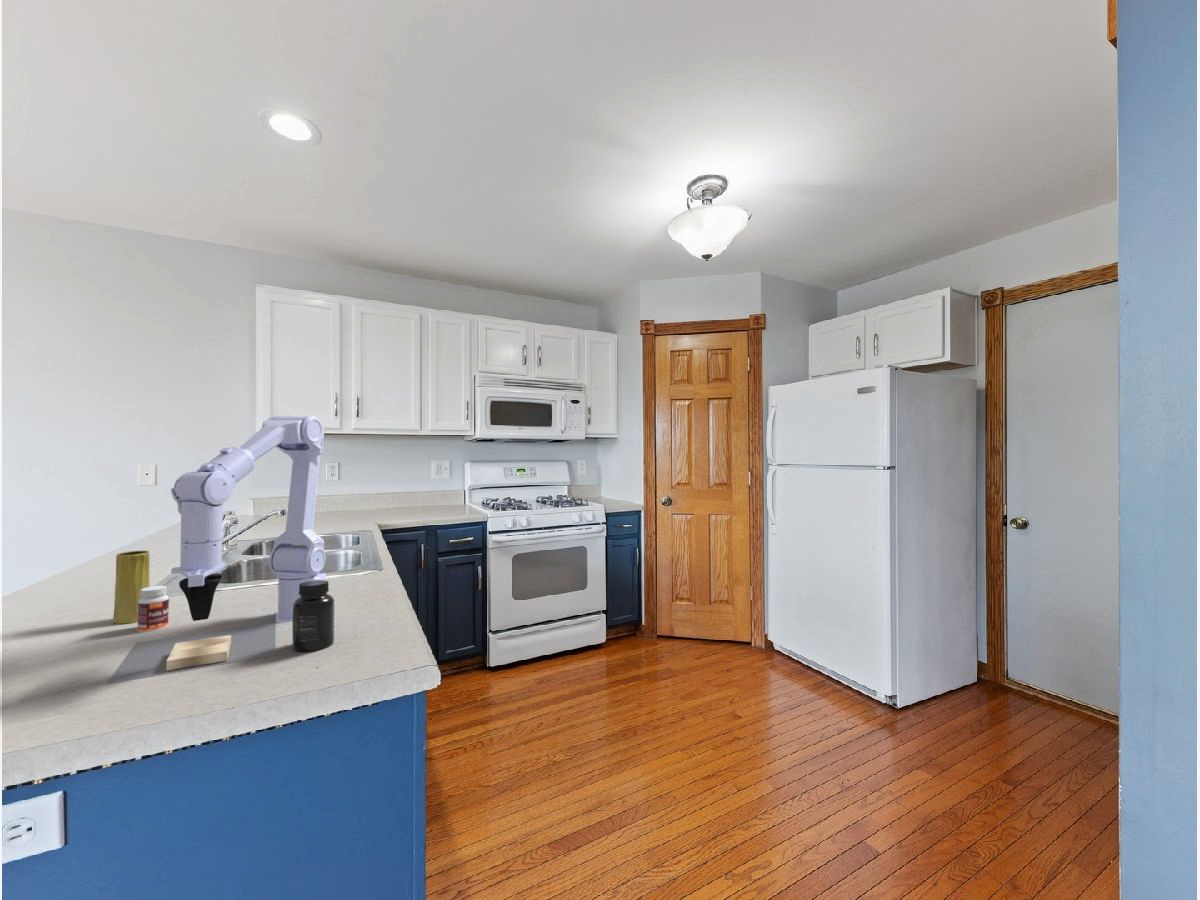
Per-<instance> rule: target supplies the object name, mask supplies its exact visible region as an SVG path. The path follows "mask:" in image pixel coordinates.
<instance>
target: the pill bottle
mask: <svg viewBox="0 0 1200 900" xmlns="http://www.w3.org/2000/svg"><path fill="white" fill-rule="evenodd" d="M167 589H168V588H167V586H165V585H153V586H149V587H147V588H143V589H141V593H140V596H141V597H142V598H141V599H140V600H139V601H138V622H137V632H140V633H141V632H145V633H146V632H147V633H148V632H154V631H159V630H162V629H165V628H167V627H168V626H169V612H170V611H169V609H170V605H169V604H170V598H169V596H168V595H167V592H168V590H167Z"/></svg>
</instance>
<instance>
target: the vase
mask: <svg viewBox="0 0 1200 900" xmlns="http://www.w3.org/2000/svg"><path fill="white" fill-rule="evenodd" d="M114 585H115V587H114V602H113V603H114V606H113V608H114V609H113V617H112V623H113V624H116V625H123V624H124V625H126V624H134V623H138V601H139V600H140V599H141V598H142V597H141V596H140V593H141V589H143V588H147V587H150V551H149V550H132V551H124V552H120V553H119V552H118V553H116V556H115V584H114Z"/></svg>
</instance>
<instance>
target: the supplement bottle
mask: <svg viewBox="0 0 1200 900" xmlns="http://www.w3.org/2000/svg"><path fill="white" fill-rule="evenodd" d="M326 580H327V579H326ZM326 580H315V581H308V582H304V583H301V584H300V585H299V595H300V598H298V599H297V600H296V601H295V602H294V604H293V620H292V627H291V628H292V631H291V632H292V637H291V639H292V641H291V643H292V645H291V646H292V651H294V652H297V653H311V652H313V653H314V652H317V651H323V650H325V649H327V648H330V647H332V646H333V645H334V643H335V599H334V596H332V595H331V594H329V593H328V592H329V591H330V588H329V581H328V580H327V581H326Z"/></svg>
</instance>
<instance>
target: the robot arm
mask: <svg viewBox="0 0 1200 900" xmlns="http://www.w3.org/2000/svg"><path fill="white" fill-rule="evenodd" d="M261 426H262V427H261V428H260V429H259V430H258V431H257V432H256V433H254V435H253V436H252V437H250V438H248V440H246V441H245V442H244V443H243V444H242V445H241V446H240V447H236V446H235V447H234V446H233V447H231V446H230V447H223V448H222V449H221V450H219V454H218V455H216V456H215V457H214V458H212V459H211V460H209V461H208V462H204V463H203V464H201V465H200V468H198V469H197V470H195V471H187V472H185V473H182V475H181V476H179V477H178V478H177V479H176V480H175V482H174V485H173V488H170V489H171V490H170V492H171V496H172V498H173V500H174V501H175V502H176V504H177V512H178V513H179V515H180V560H179V561H180V565H179V566H176V567H175V566H174V567H172V568H171V570H170V572H171V574H180V575H182V576H184V577H185V578H183V579H181V580H180V581H179V583H178V585H179V588H180V590H181V591H182V592H183V594H184V595H185V596H184V597H185V598H186V600H187V604H188V608H189V612H190V615H191V619H192V621H193V622H196V621H203V620H204V621H205V620H208V619H209V616H210V615H211V611H212V607H213V601H214V598H215V597H214V595H215V593H216V590H217V587H218V586H219V583H220V582H221V580H222V579H223V574H222V573H217V572H219V571H221V570H223V569H224V563H223V513H224V512H223V510H224V509H223V508H224V503H225V502H228V501H229V499H230V497H231V495H232V492H233V489H235V487H236V485H237V484H238V483H239V482H240V481H242V479H244V478H245V477H246V476H247V475H249V474H251V472H252V471H254V469H255V466H256V463H255V461H256V460H258V459H259V458H261V457H262V456H264V455H265V454H267V453H268V452H270V451H271V450H273V449H274V448H277V449H278V450H279V451H281V452H283V453H284V454H285V455H288V456H289V458H290V459H291V460H292V466H291V475H290V485H289V486H290V487H289V495H288V496H289V497H288V504H287V512H286V513H287V514H286V524H285V531H284V532H283V533H282V534H280V535H279V536H277V537H276V538H275V539H274V540H273V547H272V550H271V552H270V554H269V556H268V557H269V558H268V566H269V569H270V571H272V573H274V578H277V579H278V581H277V587H278V589H277V590H278V591H277V611H275V623H276V624H278V623H285V622H293V604H294V602H295V601H296V600H297V599H298V598H300V595H299V585H300V584H301V583H304V582H308V581H315V580H326V581H328V579H327V574H326V573H325V572H323V573H320V572H321V571H322V570H323V568H324V566H325V563H326V559H327V556H326V551H325V540H324V538H322V537H321V536H320V535H319V534H317V533H316V532H315V531H314V528H315V527H314V526H315V516H316V507H317V506H316V503H317V495H318V484H319V477H320V476H319V475H320V463H321V455H322V454H323V449H324V440H325V439H324V438H325V430H326V429H325V427H324V426H323V424H322V422H321V421H320V419H319V418H318V416H315V415H307V416H303V415H302V416H300V415H299V416H298V415H297V416H292V415H291V416H282V415H281V416H280V415H271V416H270V417H269V418H268V419H266V420H264V421H263V422H262V425H261ZM293 544H295V545H293Z"/></svg>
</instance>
